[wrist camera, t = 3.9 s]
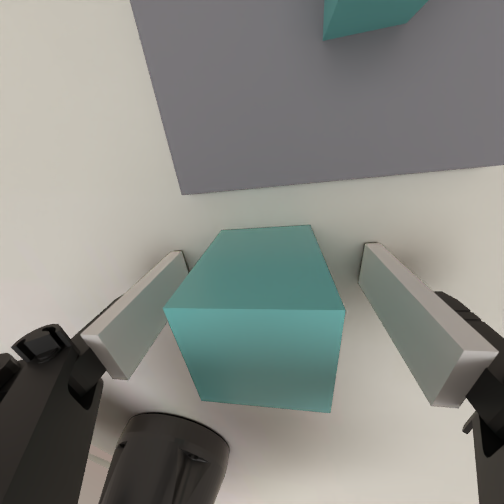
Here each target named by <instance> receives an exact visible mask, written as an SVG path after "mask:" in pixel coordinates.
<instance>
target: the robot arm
mask: <svg viewBox="0 0 504 504" xmlns="http://www.w3.org/2000/svg"><path fill="white" fill-rule="evenodd" d="M188 274H189V273H188V270H187V267H186V264H185V260H184V257H183V254H182V251H174V252H170V253H169V254H168V255H167V256H166V257H165V258H164V259H162V260H161V261H160V262H159V263H158V264H157V265H156V266H155V267H154V268H152V269H151V270H150V271H149V272H148V273H147V274H146V275H145V276H144V277H143V278H141V279H140V280H139V281H138V282H137V283H136V284H135V285H134V286H133V287H132V288H130V289H129V290H128V291H127V292H126V293H125V294H123V295H122V296H120V297H118V298H117V299H115V300H114V301H113V302H112V303H111V304H110V305H109V306H107V308H105V309H104V310H103V311H102V312H101V313H100V315H97V316H96V317H95V318H94V319H93V320H92V321H91V322H90V323H88V324H87V325H86V326H85V327H84V328H83V329H82V330H81V331H79V332H78V333H77V334H76V335H75V336H74V337H73V338H72V339H70V338H69V337H68V335H67V334H66V333H65V332H64V330H63V329H62V328H61V326H59V325H58V324H50V325H46V326H43V327H41V328H38V329H36V330H34V331H32V332H30V333H28V334H27V335H25V336H24V337H22V338H21V339H19V340H18V341H17V342H16V343H15V344H14V345H13V346H12V347H11V348H12V349H13V350H14V351H15V352H16V353H17V354H18V355H19V356H20V357H21V358H22V359H23V360H20V361H17V360H15V359H14V358H13V357H12V356H11V355H10V354H8V353H3V354H0V504H78V499H79V495H80V490H81V486H82V481H83V476H84V472H85V467H86V463H87V458H88V454H89V449H90V444H91V440H92V435H93V431H94V426H95V421H96V417H97V412H98V408H99V403H100V399H101V394H102V389H103V380H102V379H101V377H102V375H103V374H104V373H105V372H106V371H107V372H108V373H109V375H110V376H111V377H112V379H120V380H129V378H130V377H131V375H132V374H133V372H134V371H135V369H136V368H137V366H138V365H139V363H140V362H141V360H142V359H143V357H144V356H145V354H146V353H147V351H148V350H149V348H150V347H151V345H152V344H153V342H154V341H155V339H156V338H157V336H158V335H159V333H160V332H161V330H162V329H163V327H164V326H165V324H166V323H167V321H168V320H167V318H166V315H165V313H164V310H163V307H164V306H165V304H166V303H167V302H168V300H169V299H170V298H171V296H172V295H173V294H174V292H175V291H176V290H177V288H178V287H179V286H180V284H181V283H182V282H183V280H184V279H185V278H186V276H187V275H188ZM358 284H359V285H360V287H361V289H362V290H363V292H364V294H365V295H366V297H367V299H368V300H369V302H370V304H371V306H372V307H373V309H374V311H375V312H376V314H377V316H378V317H379V319H380V321H381V322H382V324H383V326H384V327H385V329H386V331H387V332H388V334H389V336H390V338H391V339H392V341H393V343H394V344H395V346H396V348H397V349H398V351H399V353H400V354H401V356H402V358H403V359H404V361H405V363H406V364H407V366H408V368H409V370H410V371H411V373H412V375H413V376H414V378H415V380H416V381H417V383H418V385H419V386H420V388H421V390H422V391H423V393H424V395H425V396H426V398H427V400H428V402H429V403H430V405H431V406H437V407H449V408H459V407H460V406H461V404H462V403H463V401H464V400H465V399H466V398H467V399H468V401H469V402H470V403H471V405H472V406H473V407H474V409H475V410H476V411H475V412H474V413H473V415H472V416H471V417H470V418H469V420H468V421H467V422H466V423H465V425H464V427H463V430H462V432H464V433H466V434H468V433H469V432H470V431H471V429H472V428H473V436H474V448H475V459H476V471H477V482H478V494H479V504H504V338H503V337H502V336H500V335H499V334H498V333H497V332H496V331H494V330H493V329H492V328H491V327H490V326H488V325H487V324H486V323H485V322H482V321H481V319H480V318H479V317H478V316H476V315H475V314H474V313H472V312H470V310H469V309H468V308H467V307H466V306H464V305H463V304H462V303H461V302H460V301H458V300H457V299H455V298H453V297H451V296H449V295H447V294H445V293H444V292H433V291H432V290H431V289H430V288H429V287H428V286H426V285H425V284H424V283H423V282H422V281H421V280H420V279H419V278H418V277H417V276H415V275H414V274H413V273H412V272H411V271H410V270H409V269H408V268H407V267H406V266H405V265H403V264H402V263H401V262H400V261H399V260H398V259H397V258H396V257H395V256H394V255H392V254H391V253H390V252H389V251H388V250H387V249H386V248H385V247H384V246H383V245H381V244H380V243H368V244H365V247H364V253H363V259H362V264H361V270H360V276H359V282H358ZM228 457H229V448H228V446H227V444H226V443H225V441H224V440H223V439H222V438H220V437H219V436H218V435H217V434H215V433H214V432H212V431H211V430H209V429H207V428H205V427H203V426H201V425H199V424H196V423H194V422H191V421H188V420H185V419H182V418H178V417H174V416H169V415H163V414H142V415H137V416H135V417H133V418H131V419H130V420H129V422H128V424H127V425H126V427H125V429H124V431H123V432H122V434H121V436H120V438H119V440H118V442H117V445H116V449H115V452H114V455H113V458H112V461H111V464H110V468H109V471H108V474H107V477H106V481H105V484H104V487H103V490H102V494H101V497H100V500H99V503H98V504H214V502H215V499H216V497H217V494H218V492H219V489H220V487H221V484H222V482H223V479H224V477H225V473H226V468H227V463H228Z"/></svg>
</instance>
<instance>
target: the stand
mask: <svg viewBox="0 0 504 504" xmlns="http://www.w3.org/2000/svg"><path fill="white" fill-rule="evenodd" d="M130 3H131V7H132V10H133V14H134V18H135V22H136V25H137V29H138V33H139V37H140V40H141V44H142V48H143V52H144V55H145V59H146V63H147V67H148V70H149V74H150V78H151V82H152V85H153V89H154V93H155V97H156V100H157V104H158V108H159V111H160V115H161V119H162V123H163V126H164V130H165V134H166V138H167V141H168V145H169V149H170V153H171V156H172V160H173V164H174V168H175V171H176V175H177V179H178V183H179V186H180V190H181V194H182V195H189V194H199V193H210V192H220V191H231V190H242V189H252V188H263V187H274V186H284V185H295V184H306V183H316V182H327V181H338V180H348V179H359V178H370V177H380V176H391V175H402V174H412V173H423V172H434V171H444V170H455V169H466V168H476V167H487V166H498V165H504V0H130Z"/></svg>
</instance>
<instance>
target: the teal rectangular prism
mask: <svg viewBox="0 0 504 504" xmlns="http://www.w3.org/2000/svg"><path fill="white" fill-rule="evenodd" d="M163 310H164V313H165V315H166V318H167V320H168V322H169V325H170V327H171V329H172V332H173V334H174V337H175V339H176V341H177V344H178V346H179V349H180V351H181V353H182V356H183V358H184V360H185V363H186V365H187V368H188V370H189V372H190V375H191V377H192V379H193V382H194V384H195V387H196V389H197V391H198V394H199V396H200V398H201V401H209V402H220V403H230V404H240V405H251V406H261V407H272V408H282V409H292V410H303V411H313V412H323V413H330V412H331V406H332V399H333V392H334V385H335V378H336V372H337V365H338V358H339V351H340V345H341V338H342V331H343V324H344V317H345V311H346V310H345V308H344V305H343V303H342V301H341V298H340V296H339V293H338V291H337V289H336V286H335V284H334V281H333V279H332V277H331V274H330V272H329V269H328V267H327V265H326V262H325V260H324V257H323V255H322V252H321V250H320V248H319V245H318V243H317V240H316V238H315V236H314V233H313V231H312V228H311V226H310V225H302V226H285V227H268V228H251V229H234V230H221V231H220V233H219V234H218V235H217V237H216V238H215V239H214V241H213V242H212V243H211V245H210V246H209V247H208V249H207V250H206V251H205V253H204V254H203V255H202V257H201V258H200V259H199V261H198V262H197V263H196V265H195V266H194V267H193V269H192V270H191V271H190V272H189V274H188V275H187V276H186V278H185V279H184V280H183V282H182V283H181V284H180V286H179V287H178V288H177V290H176V291H175V292H174V294H173V295H172V296H171V298H170V299H169V300H168V302H167V303H166V304H165V306H164V307H163Z"/></svg>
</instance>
